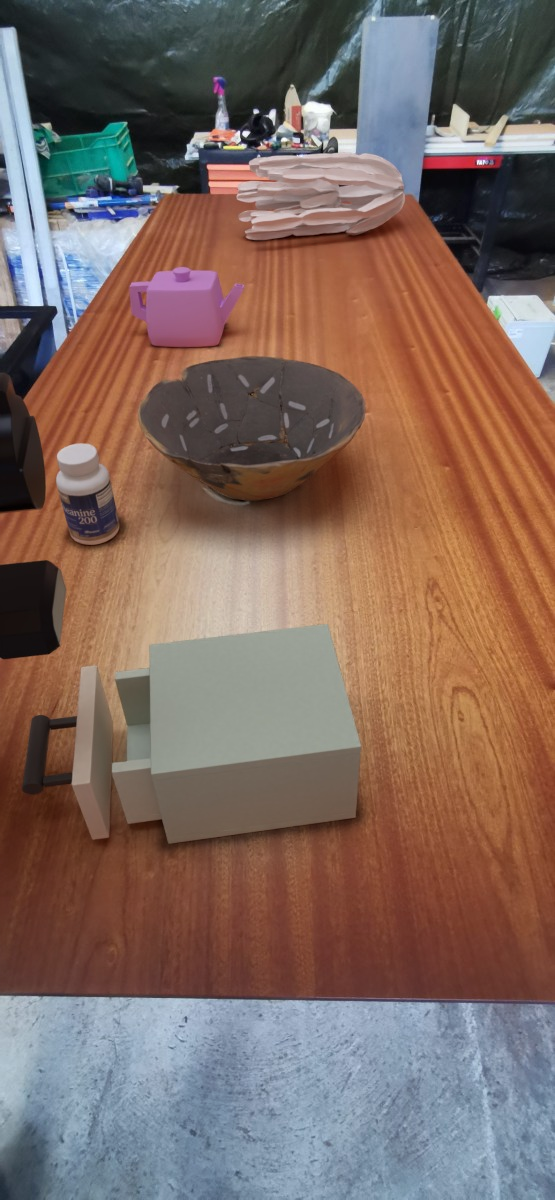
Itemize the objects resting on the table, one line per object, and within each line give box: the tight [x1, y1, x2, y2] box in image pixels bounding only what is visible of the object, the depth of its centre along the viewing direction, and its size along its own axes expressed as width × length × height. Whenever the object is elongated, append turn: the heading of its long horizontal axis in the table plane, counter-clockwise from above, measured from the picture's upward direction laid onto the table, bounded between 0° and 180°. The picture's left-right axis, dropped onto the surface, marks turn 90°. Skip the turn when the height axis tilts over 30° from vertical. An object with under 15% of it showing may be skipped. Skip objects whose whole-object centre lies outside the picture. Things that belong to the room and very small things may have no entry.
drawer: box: [21, 664, 162, 841], centre depth 54 cm, size 17×10×7 cm, turn 98°
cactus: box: [235, 151, 406, 241], centre depth 151 cm, size 17×18×35 cm
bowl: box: [137, 355, 366, 502], centre depth 83 cm, size 25×25×10 cm
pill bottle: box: [55, 442, 120, 546], centre depth 77 cm, size 5×5×10 cm
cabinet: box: [148, 623, 362, 845], centre depth 54 cm, size 14×12×9 cm
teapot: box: [128, 266, 245, 348], centre depth 115 cm, size 18×10×10 cm, turn 86°
